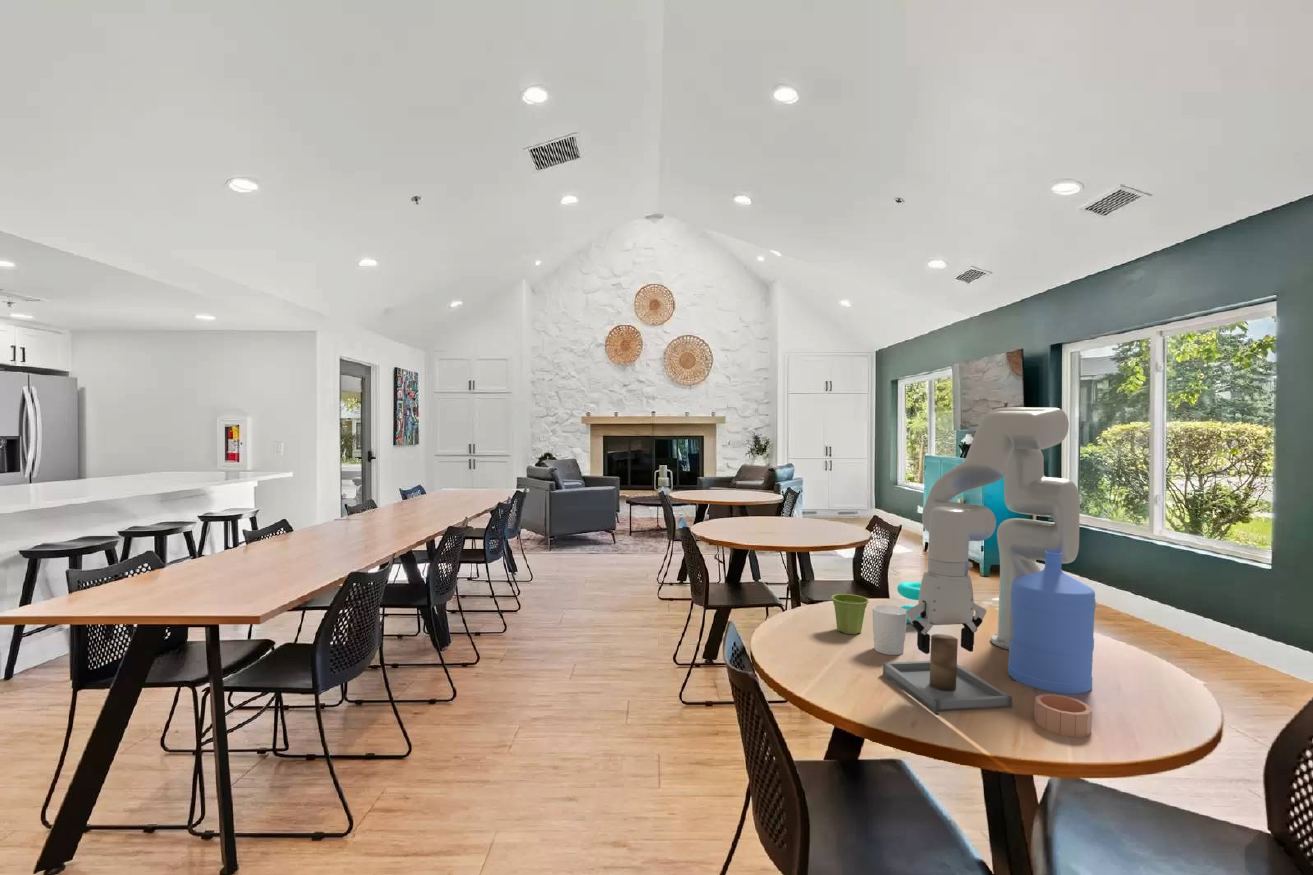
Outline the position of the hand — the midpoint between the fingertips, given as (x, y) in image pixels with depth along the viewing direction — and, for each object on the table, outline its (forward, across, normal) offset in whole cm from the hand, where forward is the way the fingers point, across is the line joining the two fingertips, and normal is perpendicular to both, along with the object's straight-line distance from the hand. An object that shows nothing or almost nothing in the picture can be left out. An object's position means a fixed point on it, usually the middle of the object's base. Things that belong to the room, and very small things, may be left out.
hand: (945, 650), depth 137 cm
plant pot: (+9, +2, -39) cm, 40 cm away
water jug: (+9, -26, -2) cm, 27 cm away
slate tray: (+8, 0, 0) cm, 8 cm away
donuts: (+9, -21, -46) cm, 51 cm away
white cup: (+9, -1, -24) cm, 25 cm away
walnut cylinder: (+7, 0, 0) cm, 7 cm away
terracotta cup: (+8, -12, +18) cm, 23 cm away
